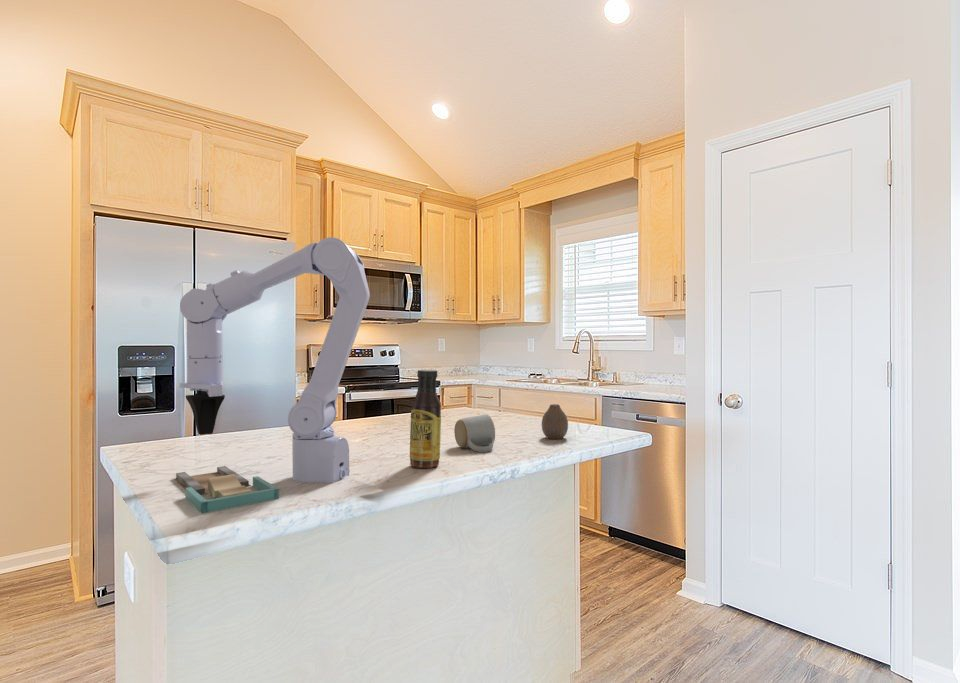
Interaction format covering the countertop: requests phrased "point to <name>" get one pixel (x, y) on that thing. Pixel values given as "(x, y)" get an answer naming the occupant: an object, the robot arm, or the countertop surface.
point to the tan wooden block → (232, 491)
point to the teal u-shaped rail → (234, 497)
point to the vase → (554, 422)
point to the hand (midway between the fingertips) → (205, 433)
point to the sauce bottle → (425, 423)
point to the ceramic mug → (475, 433)
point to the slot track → (206, 479)
